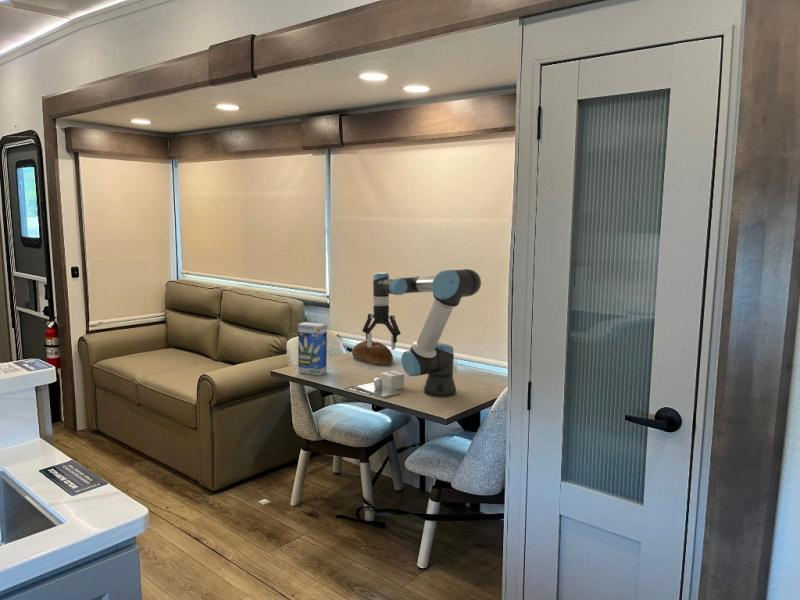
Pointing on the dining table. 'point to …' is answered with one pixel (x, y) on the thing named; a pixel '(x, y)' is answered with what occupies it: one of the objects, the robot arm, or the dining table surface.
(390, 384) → the white cardboard box
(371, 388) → the duct stub
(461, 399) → the dining table surface
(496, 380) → the dining table surface
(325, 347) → the string lights box
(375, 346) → the bread
